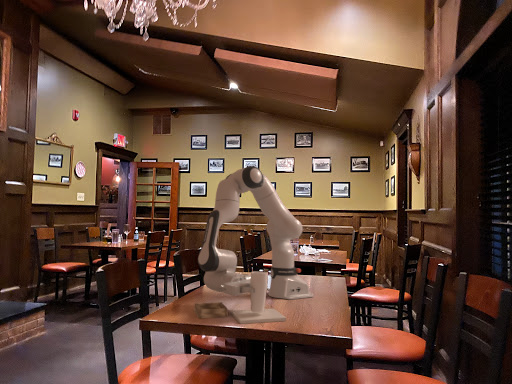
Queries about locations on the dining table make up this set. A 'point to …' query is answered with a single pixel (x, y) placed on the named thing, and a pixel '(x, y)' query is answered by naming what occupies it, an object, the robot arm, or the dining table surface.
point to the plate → (257, 316)
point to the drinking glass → (258, 291)
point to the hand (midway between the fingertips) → (260, 289)
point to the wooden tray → (210, 310)
